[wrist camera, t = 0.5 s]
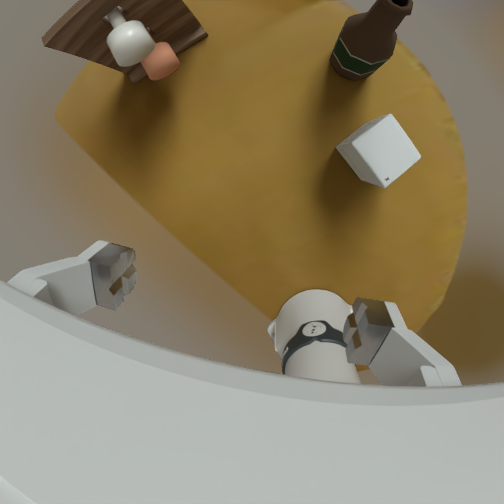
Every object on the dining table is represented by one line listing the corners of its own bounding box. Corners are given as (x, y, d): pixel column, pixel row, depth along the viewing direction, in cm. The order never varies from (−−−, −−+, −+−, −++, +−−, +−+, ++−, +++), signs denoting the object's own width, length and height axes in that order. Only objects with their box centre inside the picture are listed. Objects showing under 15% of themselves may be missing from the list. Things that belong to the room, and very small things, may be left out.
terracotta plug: (184, 65, 35) (172, 55, 30) (158, 83, 36) (143, 76, 32) (159, 25, 33) (146, 14, 28) (135, 43, 34) (120, 34, 29)
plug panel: (208, 35, 38) (153, -34, 16) (135, 83, 42) (46, 55, 20) (194, 15, 37) (136, -52, 14) (124, 62, 41) (39, 30, 18)
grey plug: (161, 47, 27) (143, 34, 22) (129, 70, 28) (109, 61, 23) (134, 5, 24) (117, -9, 20) (106, 26, 26) (87, 16, 21)
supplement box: (391, 156, 42) (423, 158, 30) (360, 181, 44) (384, 190, 33) (365, 121, 41) (392, 111, 29) (333, 146, 43) (350, 143, 31)
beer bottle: (326, 41, 37) (353, -35, 14) (369, 45, 36) (423, -20, 13) (331, 81, 39) (369, 21, 17) (375, 83, 38) (441, 37, 16)
